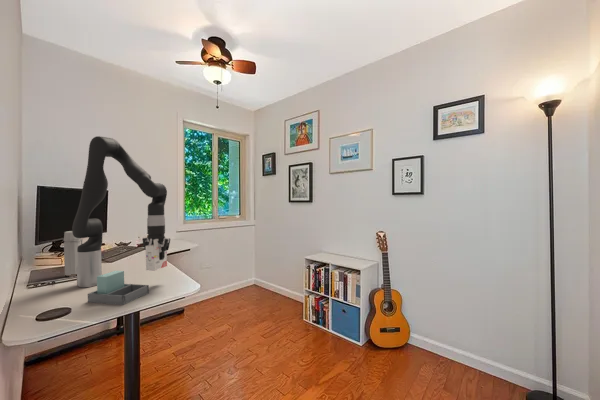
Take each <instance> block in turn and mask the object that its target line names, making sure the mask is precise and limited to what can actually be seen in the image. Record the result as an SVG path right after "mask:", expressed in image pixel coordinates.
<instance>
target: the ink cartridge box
mask: <svg viewBox="0 0 600 400" xmlns="http://www.w3.org/2000/svg"><path fill="white" fill-rule="evenodd" d="M165 238H167V237H166V236H165ZM153 241H154V245H148V246H145V247H146V250H145V271H154V272H155V271H158V270H160V269H163V268H166V267H168V254H167V251H168V250H166V251H165V257H164V259H163V260H159V252H160V251H159V248H158V242H157V241H159V240H158V239H155V240H153ZM163 242H164V241H163ZM160 245H162V244H160ZM161 248H162V247H161Z"/></svg>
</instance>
